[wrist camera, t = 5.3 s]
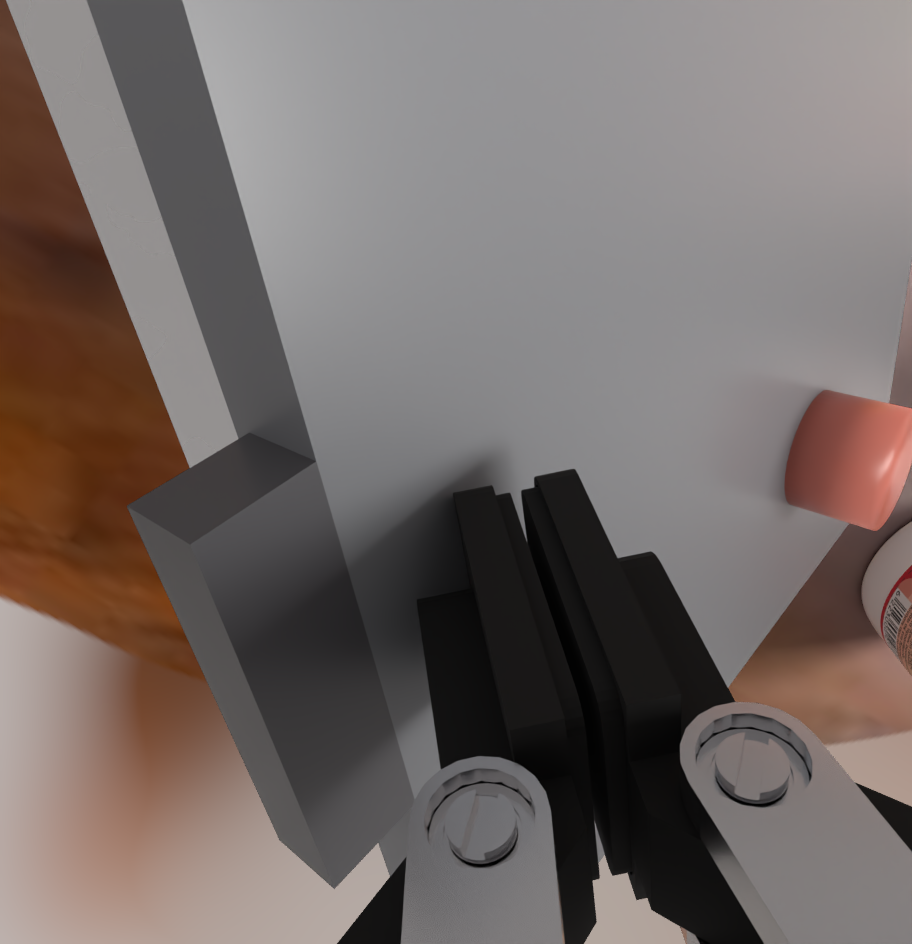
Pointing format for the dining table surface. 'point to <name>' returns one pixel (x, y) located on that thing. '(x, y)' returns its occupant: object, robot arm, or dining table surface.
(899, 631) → the fruit juice
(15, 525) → the dining table surface
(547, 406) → the lid
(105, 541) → the dining table surface
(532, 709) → the robot arm
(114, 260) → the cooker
